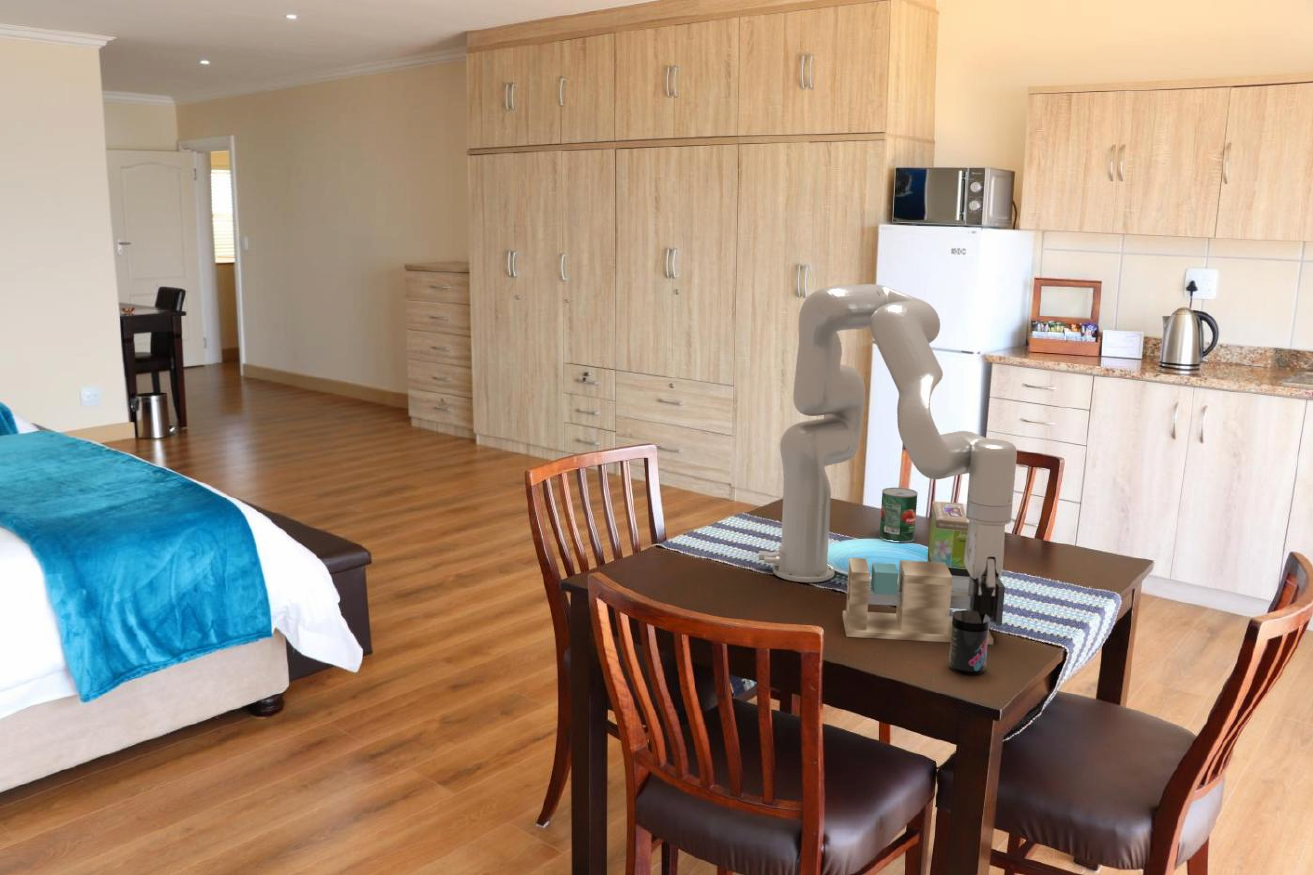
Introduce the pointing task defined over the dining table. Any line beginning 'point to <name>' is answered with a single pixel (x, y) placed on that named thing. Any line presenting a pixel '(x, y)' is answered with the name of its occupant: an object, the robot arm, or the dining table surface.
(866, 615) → the wooden slotted block
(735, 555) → the dining table surface
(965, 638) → the supplement container
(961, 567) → the tea box
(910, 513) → the canned tomato
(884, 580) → the spacer
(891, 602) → the shaft
